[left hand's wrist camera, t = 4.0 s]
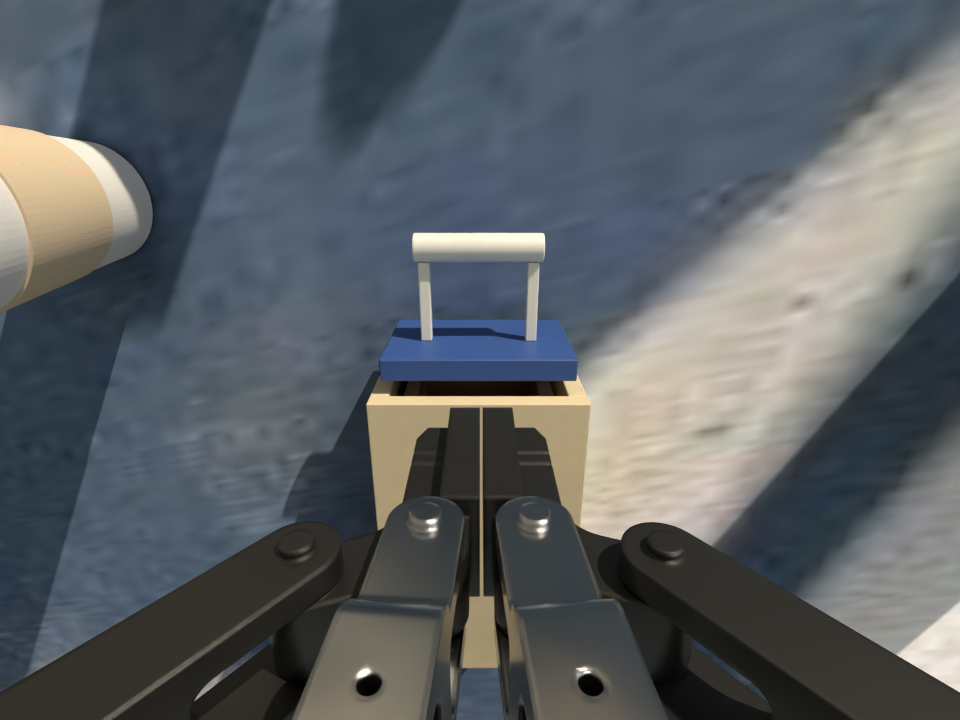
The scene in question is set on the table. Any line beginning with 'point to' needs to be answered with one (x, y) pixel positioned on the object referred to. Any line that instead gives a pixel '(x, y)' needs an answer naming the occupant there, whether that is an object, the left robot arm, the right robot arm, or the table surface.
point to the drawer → (478, 330)
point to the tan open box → (409, 416)
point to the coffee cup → (64, 212)
